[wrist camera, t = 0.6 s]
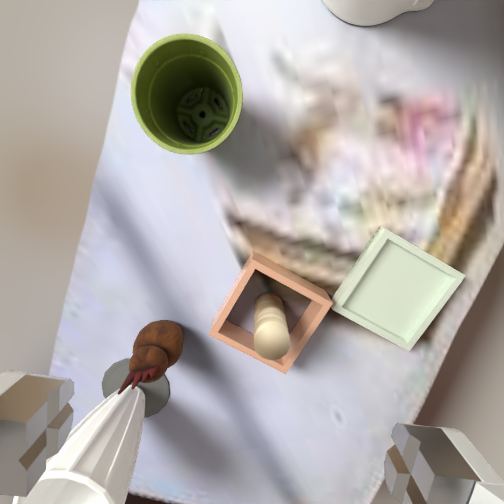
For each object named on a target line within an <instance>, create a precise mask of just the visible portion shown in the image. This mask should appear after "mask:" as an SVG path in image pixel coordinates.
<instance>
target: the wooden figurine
mask: <svg viewBox="0 0 504 504" xmlns="http://www.w3.org/2000/svg"><path fill="white" fill-rule="evenodd" d="M182 347H183V332H182V330H181V328H180V327H179V326H178V324H176V323H174V322H172V321H168V320H160V321H155V322H151V323H150V324H148V325H147V326H145V327H144V328H143V329H142V330H141V331H140V332H139V334H138V336H137V338H136V340H135V342H134V346H133V356H132V357H131V359H130V361H129V371H130V372H129V374H128V376H127V377H126V379H125V381H124V383H123V384H122V386H121V388H120V390H119V391H118V395H119V394H121V393H122V392H123V391H124V390H125V389H126V388H127V387H128V386H129V385H130V384H131V383H132V382H133V384H132V387H131V389H132V390H133V389H134V388H135V387H136V386H137V385H138V383H139V382H142V383H151V382H155V381H157V380H158V379H160V378H161V377H162V376H163V375H164V373H165V372H166V370H167V368H169V367H170V366H172V365H173V364H175V363H176V362H177V360H178V358H179V357H180V355H181V352H182Z"/></svg>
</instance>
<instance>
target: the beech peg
mask: <svg viewBox="0 0 504 504" xmlns="http://www.w3.org/2000/svg"><path fill="white" fill-rule="evenodd" d="M290 345H291V342H290V337H289V332H288V327H287V322H286V317H285V312H284V307H283V302H282V300H281V298H280V297H279V296H278V295H277V294H275V293H272V292H265V293H262V294H260V295H259V296H258V297H257V298H256V300H255V304H254V348H255V350H256V352H257V353H258V355H259V356H261V357H262V358H264V359H267V360H277V359H280V358H282V357H284V356H285V355H286V354H287V353H288V351H289V349H290Z"/></svg>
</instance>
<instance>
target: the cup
mask: <svg viewBox="0 0 504 504" xmlns="http://www.w3.org/2000/svg"><path fill="white" fill-rule="evenodd" d="M129 361H130V359H124V360H121V361H119V362H116V363H114V364H113V365H112V366H111V367H110V368H109V369H108V370H107V371H106V372H105V375H104V378H103V381H102V389H103V395H104V397H105V398H106V399H105V400H104V401H103V402H102V403H100V404H99V405H98V406H97V407H96V408H95V409H94V410H93V411H91V412H90V413H89V414H88V415H87V416H86V417H85V418H84V419H83V420H82V421H81V422H80V423H79V424H78V425H77V426H76V427H75V428H74V429H73V430H72V431H71V432H70V433H69V435H68V437H67V440H66V442H65V444H64V445H63V447H62V448H61V450H60V451H59V452H58V453H57V454H56V455H54V456H52V457H50V458H49V459H47V460H46V471H45V472H44V473H43V475H42V476H41V478H40V479H39V480H38V482H37V483H36V484H35V486H34V487H33V489H32V490H31V491H30V493H29V494H28V496H27V497H20V496H14V500H13V504H125V500H126V497H127V493H128V490H129V486H130V482H131V479H132V475H133V471H134V467H135V463H136V458H137V454H138V449H139V444H140V440H141V434H142V428H143V421H144V417H148V416H151V415H153V414H156V413H158V412H159V411H160V410H161V409H162V408H163V407H164V406H165V405H166V402H167V400H168V397H169V394H170V393H169V382H168V381H167V379H166V377H165V375H163V376H162V377H161V378H160V379H158V380H157V381H155V382H151V383H142V382H139V383H138V385H137V386H136V387H135V388H134V389H133V390H132V389H131V387H132V384H133V382H132V383H131V384H130V385H129V386H128V387H127V388H126V389H125V390H124V391H123V392H122V393H121V394H119V395H118V391H119V390H120V388H121V386H122V384H123V383H124V381H125V379H126V377H127V376H128V374H129V372H130V371H129Z"/></svg>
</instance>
